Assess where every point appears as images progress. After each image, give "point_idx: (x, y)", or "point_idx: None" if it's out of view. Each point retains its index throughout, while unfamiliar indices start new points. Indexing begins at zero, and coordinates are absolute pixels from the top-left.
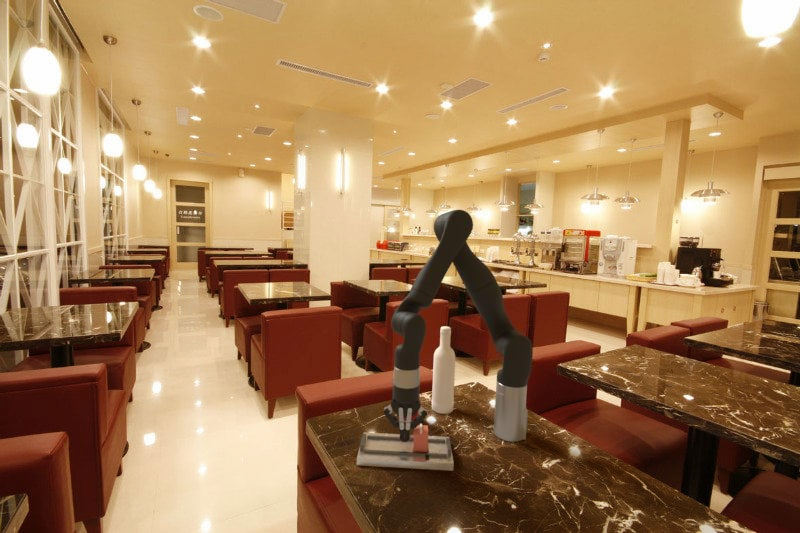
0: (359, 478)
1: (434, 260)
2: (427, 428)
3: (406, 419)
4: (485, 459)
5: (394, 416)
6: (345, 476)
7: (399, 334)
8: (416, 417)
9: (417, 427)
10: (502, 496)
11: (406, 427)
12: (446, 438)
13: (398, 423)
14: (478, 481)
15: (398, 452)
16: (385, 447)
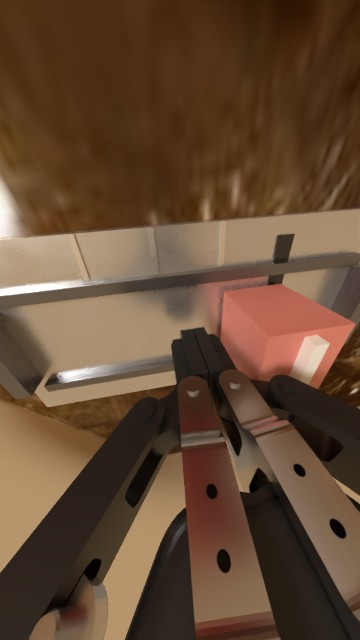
0: (92, 413)
1: None
2: (336, 352)
3: (238, 429)
4: None
5: (131, 480)
6: (57, 417)
7: None
8: (335, 437)
9: (283, 357)
10: (353, 380)
11: (222, 419)
12: None
13: (174, 444)
14: (337, 361)
15: (171, 370)
16: (115, 344)
